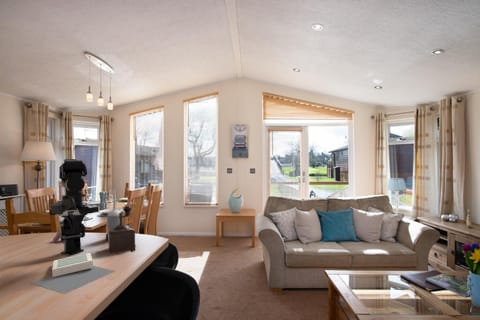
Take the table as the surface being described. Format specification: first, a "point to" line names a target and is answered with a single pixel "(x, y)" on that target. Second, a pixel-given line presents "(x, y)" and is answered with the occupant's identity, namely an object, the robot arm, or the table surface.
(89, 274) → the mat
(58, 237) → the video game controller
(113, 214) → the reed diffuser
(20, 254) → the table surface
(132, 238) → the coffee grinder
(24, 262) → the table surface
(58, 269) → the picture frame
